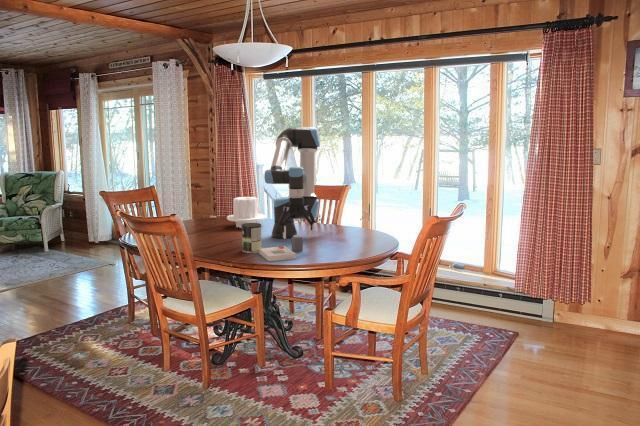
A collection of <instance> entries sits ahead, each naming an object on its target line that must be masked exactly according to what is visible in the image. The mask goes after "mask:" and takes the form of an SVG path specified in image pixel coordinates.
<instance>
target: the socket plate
mask: <svg viewBox="0 0 640 426" xmlns="http://www.w3.org/2000/svg"><path fill="white" fill-rule="evenodd" d="M258 253H259V255H261V257H263V258H264V259H265V260H266V261H267V262H276V261H288V260H296V259H297V252H294V251H292V249H290V248H289V247H287V246H285V245H284V246H283V245H278V246H275V247H273V246H271V247H262V248H260V249H259V252H258Z"/></svg>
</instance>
